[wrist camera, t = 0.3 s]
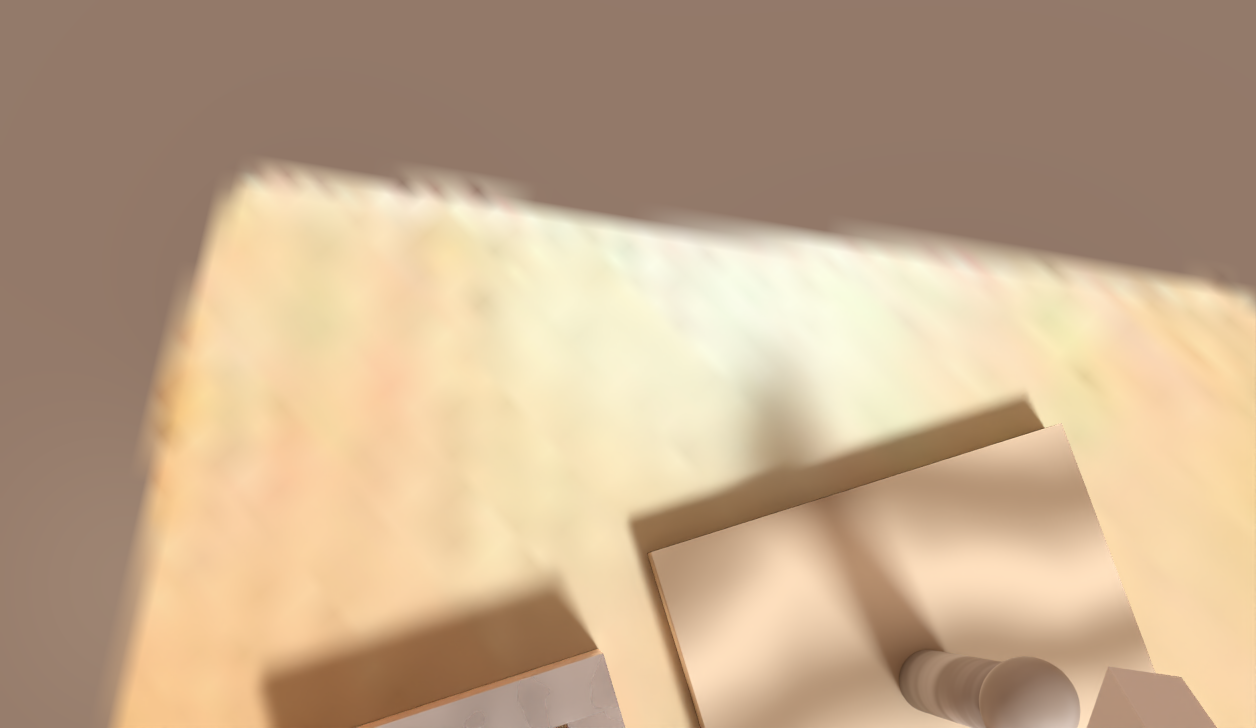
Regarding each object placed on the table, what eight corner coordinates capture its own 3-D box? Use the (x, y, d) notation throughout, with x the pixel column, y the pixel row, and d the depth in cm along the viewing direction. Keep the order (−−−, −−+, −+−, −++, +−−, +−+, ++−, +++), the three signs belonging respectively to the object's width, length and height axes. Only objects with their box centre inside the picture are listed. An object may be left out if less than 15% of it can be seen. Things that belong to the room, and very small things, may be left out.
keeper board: (1185, 802, 45) (1414, 879, 34) (771, 957, 43) (862, 1098, 31) (1045, 428, 48) (1212, 377, 36) (647, 553, 45) (688, 543, 34)
